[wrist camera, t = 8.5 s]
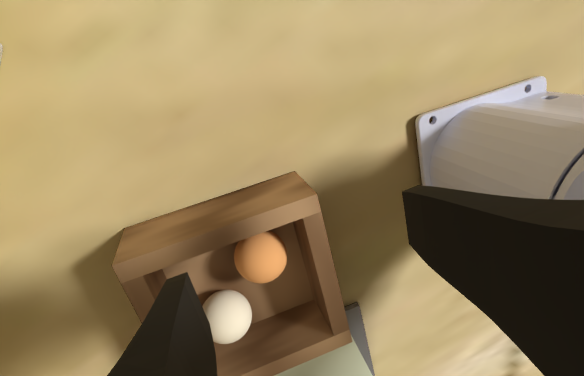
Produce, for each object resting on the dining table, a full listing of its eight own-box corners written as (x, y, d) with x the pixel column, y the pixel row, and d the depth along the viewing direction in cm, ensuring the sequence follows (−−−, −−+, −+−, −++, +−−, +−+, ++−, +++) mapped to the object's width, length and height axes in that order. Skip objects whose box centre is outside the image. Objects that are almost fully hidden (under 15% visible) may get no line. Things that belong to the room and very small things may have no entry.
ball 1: (239, 272, 23) (247, 302, 20) (253, 310, 24) (262, 343, 21) (191, 290, 22) (192, 323, 19) (208, 327, 23) (211, 363, 21)
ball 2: (273, 214, 22) (285, 236, 19) (285, 255, 23) (299, 282, 20) (224, 231, 21) (230, 256, 19) (239, 272, 23) (247, 302, 20)
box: (294, 171, 22) (316, 193, 18) (328, 301, 26) (352, 341, 22) (124, 228, 20) (111, 266, 17) (187, 358, 24) (188, 411, 20)
